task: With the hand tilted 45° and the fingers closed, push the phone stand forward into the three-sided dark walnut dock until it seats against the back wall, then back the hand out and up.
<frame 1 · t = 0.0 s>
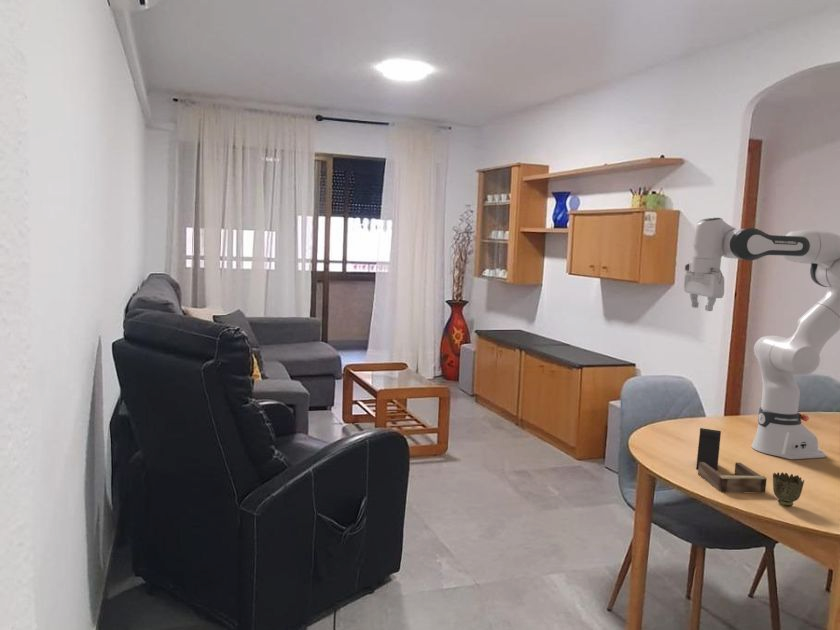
hand: (701, 309, 218), 48 cm above the table, tool pointing down, fingers open, 8 cm apart
cup: (785, 505, 179), on the table
phone stand: (706, 467, 207), on the table
dock: (729, 482, 194), on the table
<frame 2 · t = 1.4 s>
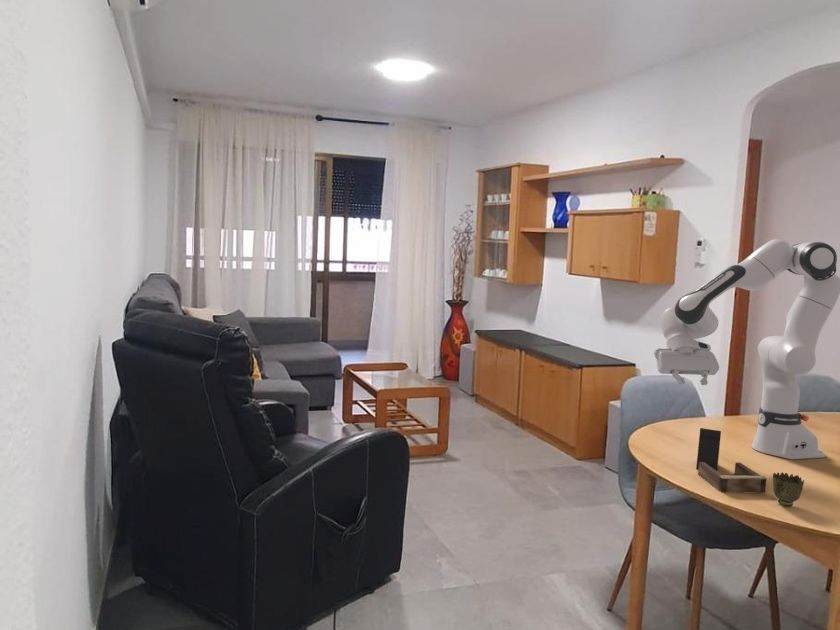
hand: (693, 383, 217), 23 cm above the table, tool tilted 45°, fingers open, 6 cm apart
nothing on the table moved.
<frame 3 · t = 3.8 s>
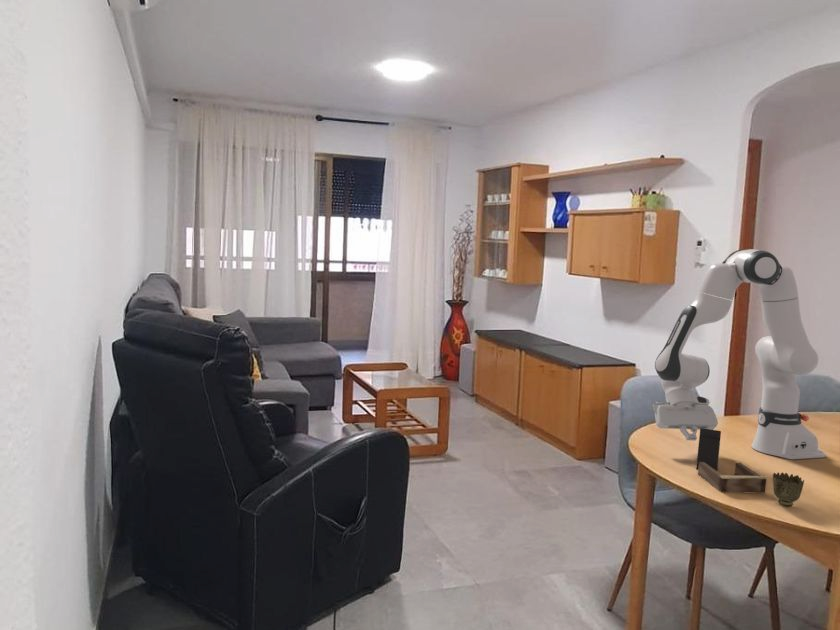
hand: (691, 439, 217), 5 cm above the table, tool tilted 45°, fingers closed
nothing on the table moved.
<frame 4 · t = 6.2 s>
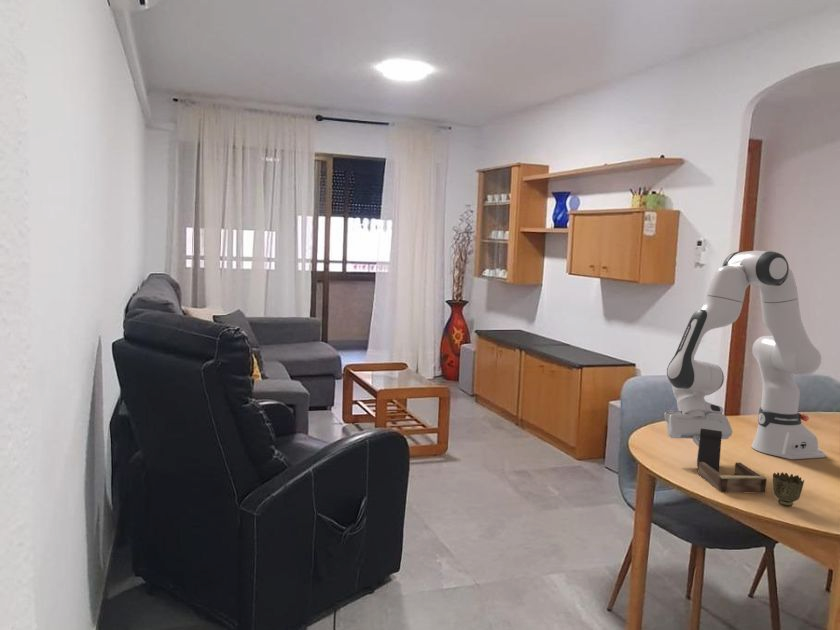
hand: (705, 450, 208), 5 cm above the table, tool tilted 45°, fingers closed
phone stand: (707, 467, 207), on the table, touching gripper
everything else where it was.
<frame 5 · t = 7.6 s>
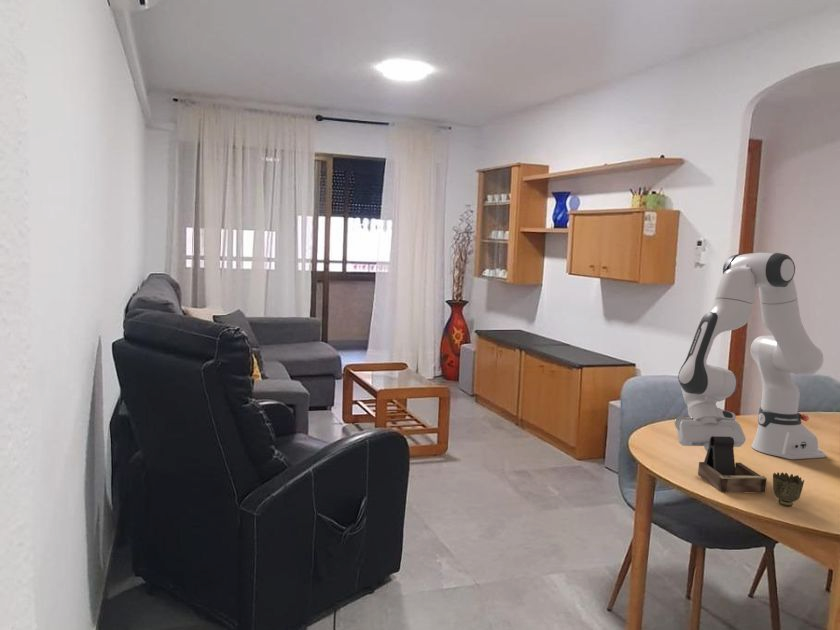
hand: (717, 458, 201), 5 cm above the table, tool tilted 45°, fingers closed, pressing on phone stand
phone stand: (718, 475, 200), on the table, touching gripper
everything else where it was.
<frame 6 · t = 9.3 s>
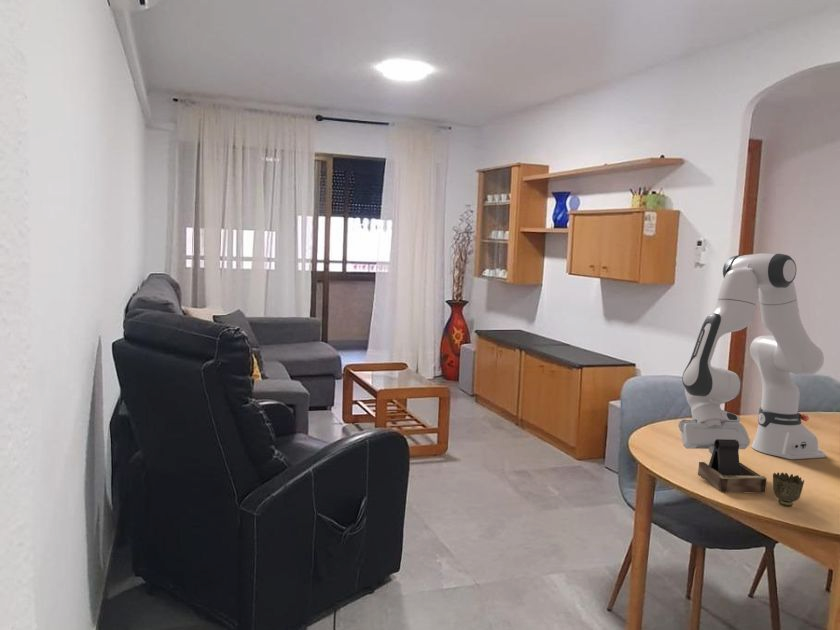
hand: (722, 461, 198), 5 cm above the table, tool tilted 45°, fingers closed
phone stand: (723, 479, 197), on the table
everything else where it was.
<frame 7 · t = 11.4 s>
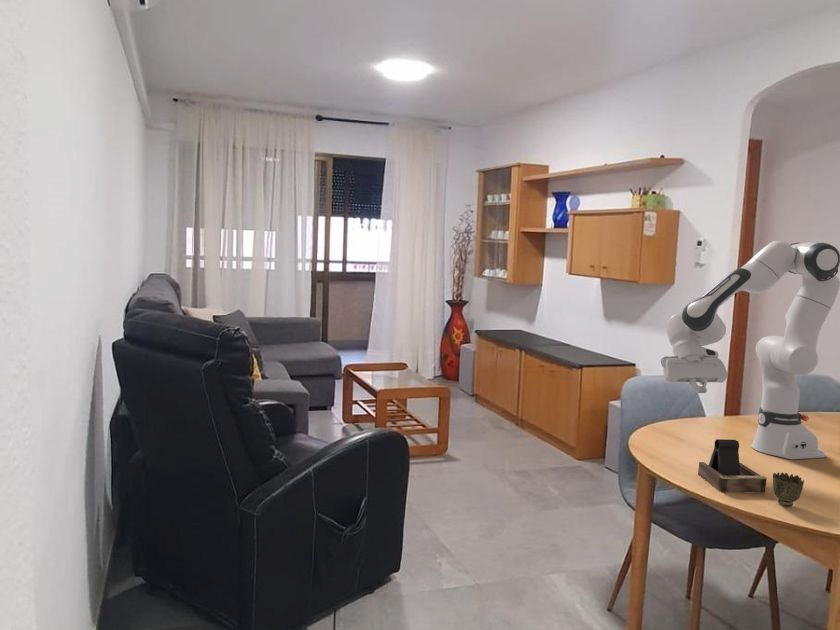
hand: (701, 392, 212), 22 cm above the table, tool tilted 45°, fingers closed
nothing on the table moved.
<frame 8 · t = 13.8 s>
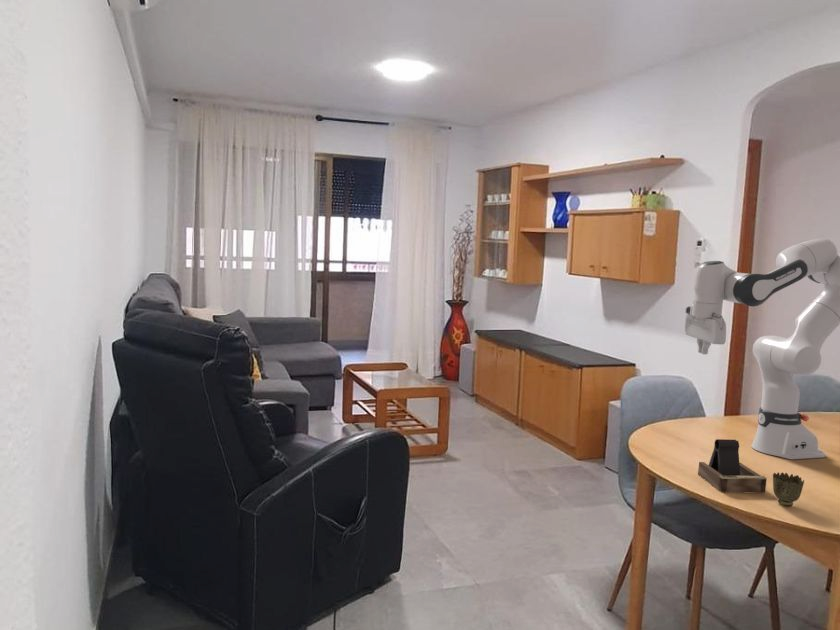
hand: (702, 353, 214), 34 cm above the table, tool pointing down, fingers closed
nothing on the table moved.
at the end: phone stand inside the target area on the dock (3.6 cm from its centre), point 0.0 cm above the dock's base; phone stand tilted 0°; the gripper is holding nothing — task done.
